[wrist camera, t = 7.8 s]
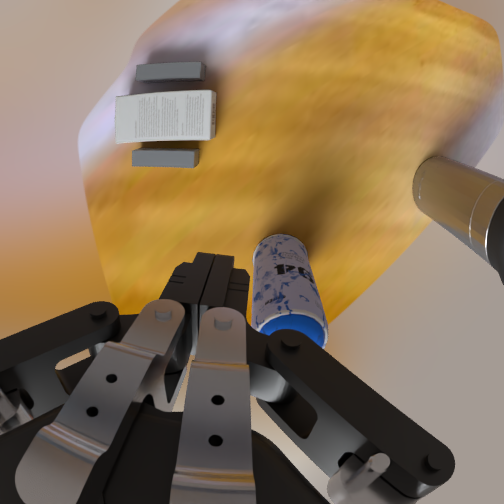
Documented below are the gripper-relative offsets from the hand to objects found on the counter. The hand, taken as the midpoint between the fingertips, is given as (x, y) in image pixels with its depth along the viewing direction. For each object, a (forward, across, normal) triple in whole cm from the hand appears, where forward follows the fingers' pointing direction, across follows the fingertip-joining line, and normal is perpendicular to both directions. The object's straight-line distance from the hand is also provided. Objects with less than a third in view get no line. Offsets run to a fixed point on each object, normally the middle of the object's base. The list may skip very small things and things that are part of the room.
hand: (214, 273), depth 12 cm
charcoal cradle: (+27, +11, -6) cm, 30 cm away
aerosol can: (+27, -6, +13) cm, 31 cm away
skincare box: (+25, +4, -6) cm, 26 cm away
